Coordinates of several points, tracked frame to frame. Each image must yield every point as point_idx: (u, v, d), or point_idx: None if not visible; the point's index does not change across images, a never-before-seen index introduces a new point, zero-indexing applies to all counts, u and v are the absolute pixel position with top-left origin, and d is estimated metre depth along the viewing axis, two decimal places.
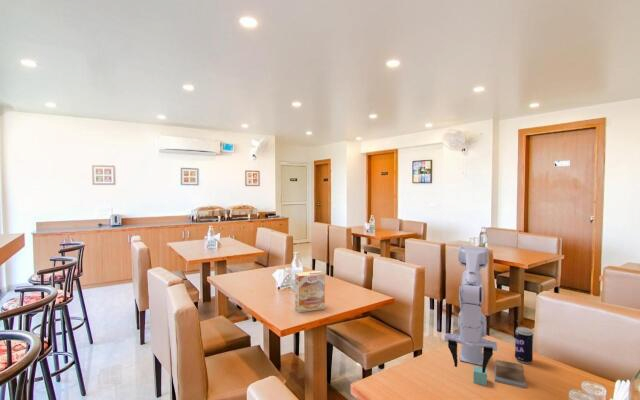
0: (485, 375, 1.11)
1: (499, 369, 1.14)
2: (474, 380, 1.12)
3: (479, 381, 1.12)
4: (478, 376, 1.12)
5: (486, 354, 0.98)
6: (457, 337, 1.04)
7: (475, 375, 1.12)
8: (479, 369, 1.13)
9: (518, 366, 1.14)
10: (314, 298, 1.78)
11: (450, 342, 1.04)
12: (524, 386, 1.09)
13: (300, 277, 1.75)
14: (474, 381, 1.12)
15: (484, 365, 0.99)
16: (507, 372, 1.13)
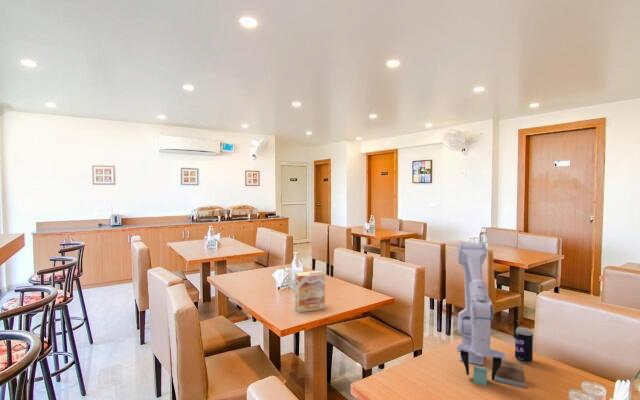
0: (485, 375, 1.11)
1: (499, 369, 1.14)
2: (474, 380, 1.12)
3: (479, 381, 1.12)
4: (478, 376, 1.12)
5: (496, 363, 1.08)
6: (469, 348, 1.14)
7: (475, 375, 1.12)
8: (479, 369, 1.13)
9: (518, 366, 1.14)
10: (314, 298, 1.78)
11: (462, 352, 1.14)
12: (524, 386, 1.09)
13: (300, 277, 1.75)
14: (474, 381, 1.12)
15: (493, 374, 1.10)
16: (507, 372, 1.13)
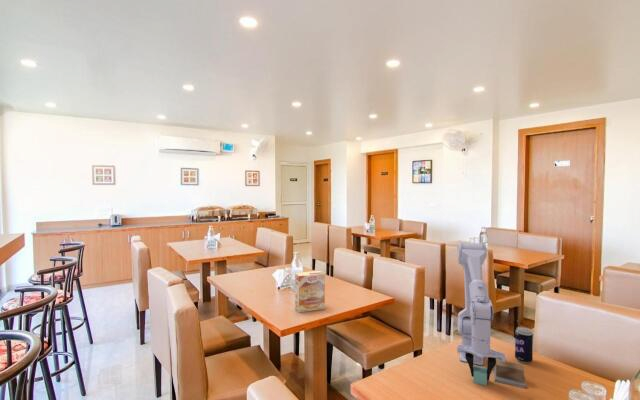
0: (485, 375, 1.11)
1: (499, 369, 1.14)
2: (474, 380, 1.12)
3: (479, 381, 1.12)
4: (478, 375, 1.12)
5: (490, 363, 1.09)
6: (469, 348, 1.14)
7: (475, 375, 1.12)
8: (479, 369, 1.13)
9: (518, 366, 1.14)
10: (314, 298, 1.78)
11: (467, 354, 1.14)
12: (524, 386, 1.09)
13: (300, 277, 1.75)
14: (474, 380, 1.12)
15: (488, 373, 1.11)
16: (507, 372, 1.13)
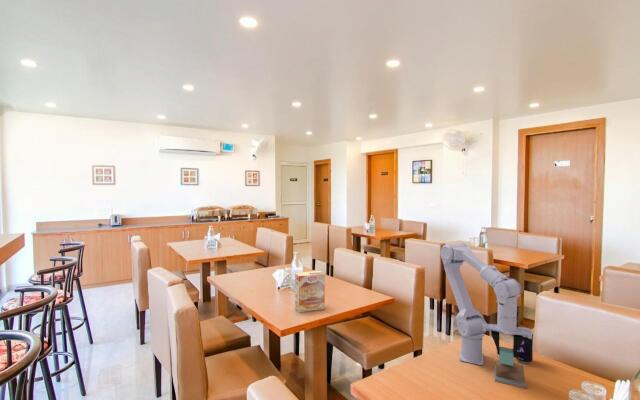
0: (511, 355, 1.11)
1: (499, 369, 1.14)
2: (500, 360, 1.13)
3: (505, 361, 1.12)
4: (504, 356, 1.12)
5: (517, 340, 1.10)
6: (494, 327, 1.15)
7: (501, 355, 1.13)
8: (505, 349, 1.14)
9: (518, 366, 1.14)
10: (314, 298, 1.78)
11: (493, 332, 1.15)
12: (524, 386, 1.09)
13: (300, 277, 1.75)
14: (500, 361, 1.13)
15: (515, 350, 1.12)
16: (507, 372, 1.13)
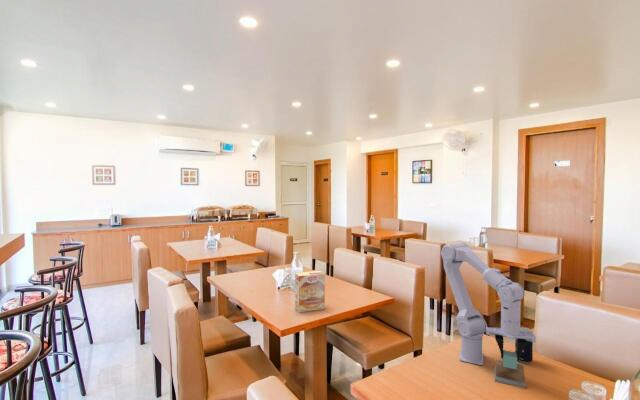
0: (515, 359, 1.12)
1: (499, 369, 1.14)
2: (504, 364, 1.13)
3: (509, 365, 1.12)
4: (508, 359, 1.13)
5: (521, 344, 1.10)
6: (498, 330, 1.16)
7: (505, 359, 1.13)
8: (509, 353, 1.14)
9: (518, 366, 1.14)
10: (314, 298, 1.78)
11: (497, 336, 1.15)
12: (524, 386, 1.09)
13: (300, 277, 1.75)
14: (504, 364, 1.13)
15: (518, 354, 1.12)
16: (507, 372, 1.13)
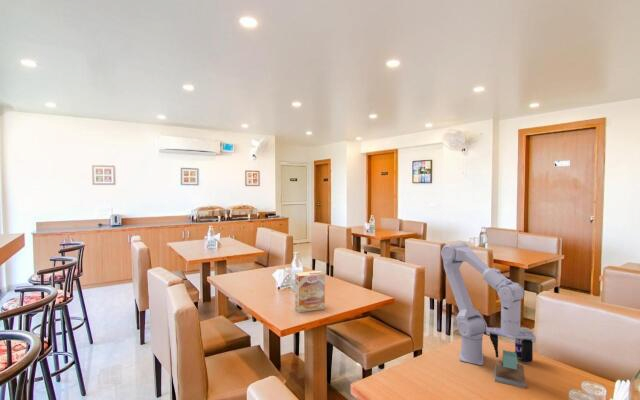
0: (515, 359, 1.12)
1: (499, 369, 1.14)
2: (504, 364, 1.13)
3: (509, 365, 1.12)
4: (508, 359, 1.13)
5: (526, 345, 1.10)
6: (498, 330, 1.16)
7: (505, 359, 1.13)
8: (509, 353, 1.14)
9: (518, 366, 1.14)
10: (314, 298, 1.78)
11: (492, 335, 1.16)
12: (524, 386, 1.09)
13: (300, 277, 1.75)
14: (504, 364, 1.13)
15: (524, 355, 1.11)
16: (507, 372, 1.13)
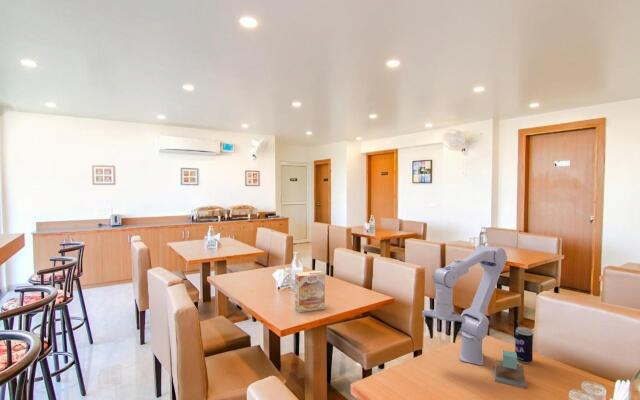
0: (515, 359, 1.12)
1: (499, 369, 1.14)
2: (504, 364, 1.13)
3: (509, 365, 1.12)
4: (508, 359, 1.13)
5: (456, 326, 1.16)
6: (433, 313, 1.22)
7: (505, 359, 1.13)
8: (509, 353, 1.14)
9: (518, 366, 1.14)
10: (314, 298, 1.78)
11: (427, 317, 1.22)
12: (524, 386, 1.09)
13: (300, 277, 1.75)
14: (504, 364, 1.13)
15: (454, 336, 1.18)
16: (507, 372, 1.13)
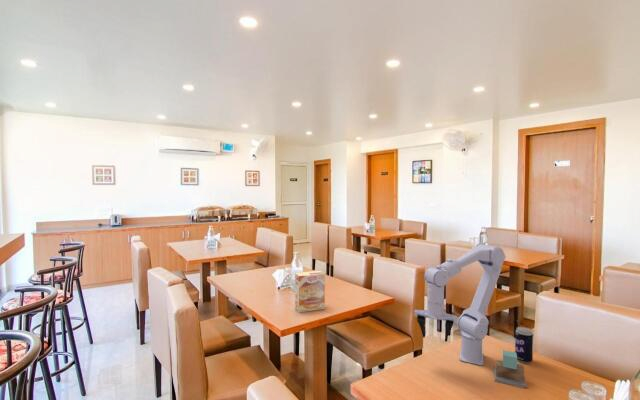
0: (515, 359, 1.12)
1: (499, 369, 1.14)
2: (504, 364, 1.13)
3: (509, 365, 1.12)
4: (508, 359, 1.13)
5: (448, 325, 1.17)
6: (425, 312, 1.23)
7: (505, 359, 1.13)
8: (509, 353, 1.14)
9: (518, 366, 1.14)
10: (314, 298, 1.78)
11: (419, 317, 1.23)
12: (524, 386, 1.09)
13: (300, 277, 1.75)
14: (504, 364, 1.13)
15: (446, 335, 1.19)
16: (507, 372, 1.13)
